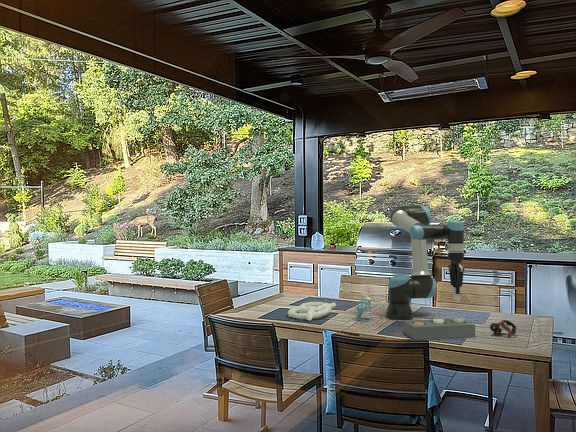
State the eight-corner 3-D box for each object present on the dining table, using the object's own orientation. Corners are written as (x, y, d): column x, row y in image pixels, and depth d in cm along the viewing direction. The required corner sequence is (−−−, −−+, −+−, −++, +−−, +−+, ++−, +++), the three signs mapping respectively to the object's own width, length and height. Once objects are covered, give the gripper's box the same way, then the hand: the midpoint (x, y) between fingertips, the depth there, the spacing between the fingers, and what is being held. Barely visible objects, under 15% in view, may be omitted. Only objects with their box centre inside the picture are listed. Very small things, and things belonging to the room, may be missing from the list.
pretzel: (314, 325, 256) (312, 314, 256) (281, 321, 271) (280, 310, 271) (341, 310, 278) (340, 300, 278) (309, 307, 293) (308, 297, 293)
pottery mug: (504, 332, 231) (512, 320, 228) (513, 346, 222) (522, 332, 219) (483, 328, 229) (490, 314, 226) (491, 341, 220) (499, 327, 217)
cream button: (431, 324, 229) (431, 318, 229) (441, 324, 229) (441, 318, 229) (435, 327, 224) (435, 320, 224) (445, 326, 224) (445, 320, 224)
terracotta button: (411, 328, 228) (411, 321, 228) (421, 327, 228) (421, 321, 228) (415, 330, 223) (415, 324, 223) (425, 330, 223) (425, 323, 223)
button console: (403, 332, 232) (403, 320, 232) (461, 330, 235) (461, 318, 235) (414, 339, 218) (414, 327, 218) (475, 337, 221) (475, 324, 221)
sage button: (451, 323, 230) (451, 317, 230) (460, 323, 230) (460, 317, 230) (455, 326, 225) (455, 320, 225) (465, 325, 225) (465, 319, 225)
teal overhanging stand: (359, 318, 267) (359, 297, 267) (373, 319, 263) (373, 298, 263) (354, 320, 260) (354, 299, 260) (368, 322, 256) (368, 300, 256)
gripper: (442, 251, 234) (443, 298, 234) (454, 253, 221) (455, 302, 221) (457, 251, 235) (458, 298, 234) (469, 252, 222) (470, 302, 221)
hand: (456, 300), depth 227 cm, fingers closed
